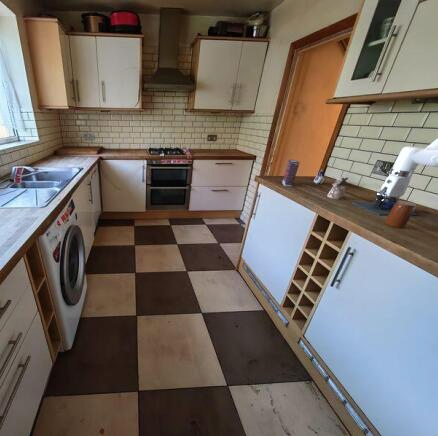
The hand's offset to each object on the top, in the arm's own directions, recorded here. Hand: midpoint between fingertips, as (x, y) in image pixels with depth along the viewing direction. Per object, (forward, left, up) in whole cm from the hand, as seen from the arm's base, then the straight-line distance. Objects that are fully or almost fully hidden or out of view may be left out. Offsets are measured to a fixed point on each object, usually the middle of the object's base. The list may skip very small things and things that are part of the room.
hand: (383, 207), depth 117 cm
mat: (0, 0, -1) cm, 1 cm away
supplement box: (+26, -41, -1) cm, 48 cm away
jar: (+13, +18, -1) cm, 22 cm away
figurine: (+12, -17, -1) cm, 21 cm away
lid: (0, 0, +3) cm, 3 cm away
